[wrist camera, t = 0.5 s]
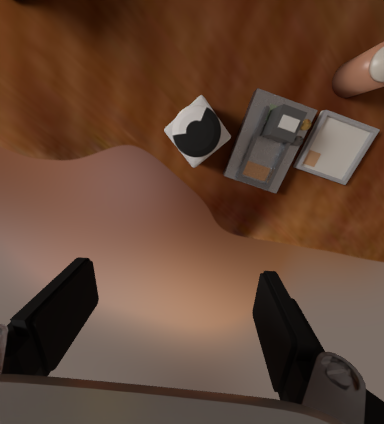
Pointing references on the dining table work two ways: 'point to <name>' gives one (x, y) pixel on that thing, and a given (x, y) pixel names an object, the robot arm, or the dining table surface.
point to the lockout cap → (360, 73)
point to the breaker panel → (264, 144)
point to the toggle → (284, 123)
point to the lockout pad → (335, 147)
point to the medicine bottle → (197, 131)
